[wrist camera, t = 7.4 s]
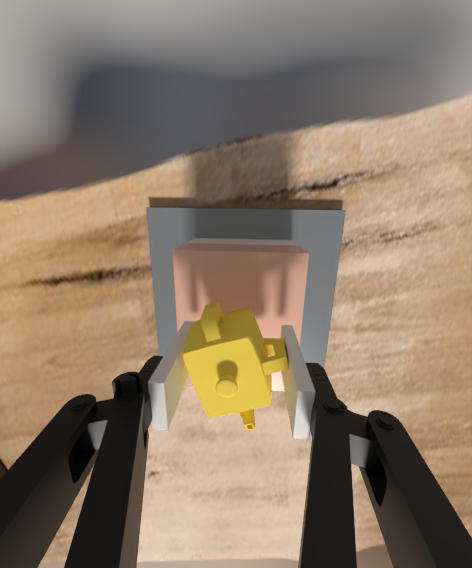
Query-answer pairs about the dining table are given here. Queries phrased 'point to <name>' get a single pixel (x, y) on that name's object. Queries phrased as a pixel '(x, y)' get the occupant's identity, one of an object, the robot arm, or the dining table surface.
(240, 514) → the dining table surface
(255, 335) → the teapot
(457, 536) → the robot arm
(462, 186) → the dining table surface
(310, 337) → the tower base
